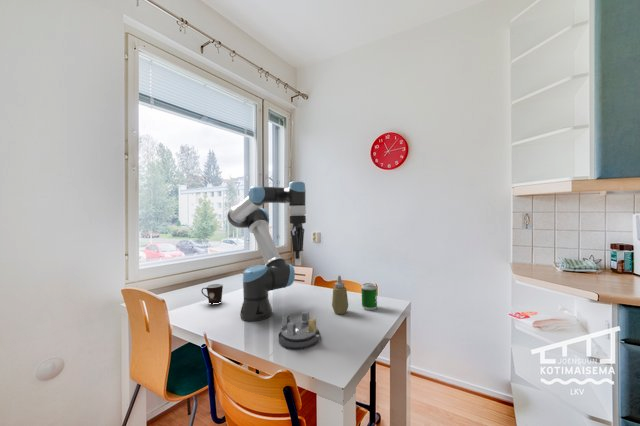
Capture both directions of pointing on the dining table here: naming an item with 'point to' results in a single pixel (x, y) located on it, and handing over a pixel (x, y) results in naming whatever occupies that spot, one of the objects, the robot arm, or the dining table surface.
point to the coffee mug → (214, 293)
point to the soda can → (369, 296)
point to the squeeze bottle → (339, 297)
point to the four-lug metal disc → (299, 328)
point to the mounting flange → (300, 344)
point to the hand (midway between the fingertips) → (298, 265)
